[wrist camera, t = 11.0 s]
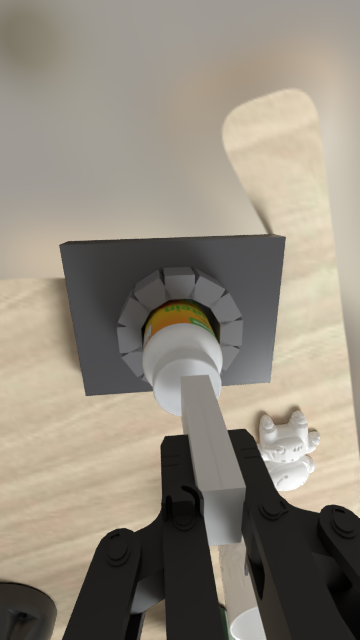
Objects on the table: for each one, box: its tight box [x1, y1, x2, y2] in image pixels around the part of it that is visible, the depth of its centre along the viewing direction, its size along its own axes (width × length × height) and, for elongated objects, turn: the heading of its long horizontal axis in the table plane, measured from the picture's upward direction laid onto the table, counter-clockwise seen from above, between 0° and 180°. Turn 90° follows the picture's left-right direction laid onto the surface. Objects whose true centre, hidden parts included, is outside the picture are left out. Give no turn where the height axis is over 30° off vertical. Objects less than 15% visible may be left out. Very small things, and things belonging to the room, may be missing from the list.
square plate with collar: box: [59, 234, 286, 396], centre depth 25 cm, size 18×14×6 cm
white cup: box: [218, 535, 266, 640], centre depth 36 cm, size 8×8×10 cm
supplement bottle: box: [142, 299, 223, 416], centre depth 21 cm, size 5×5×10 cm
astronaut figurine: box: [257, 410, 320, 491], centre depth 35 cm, size 9×12×3 cm
